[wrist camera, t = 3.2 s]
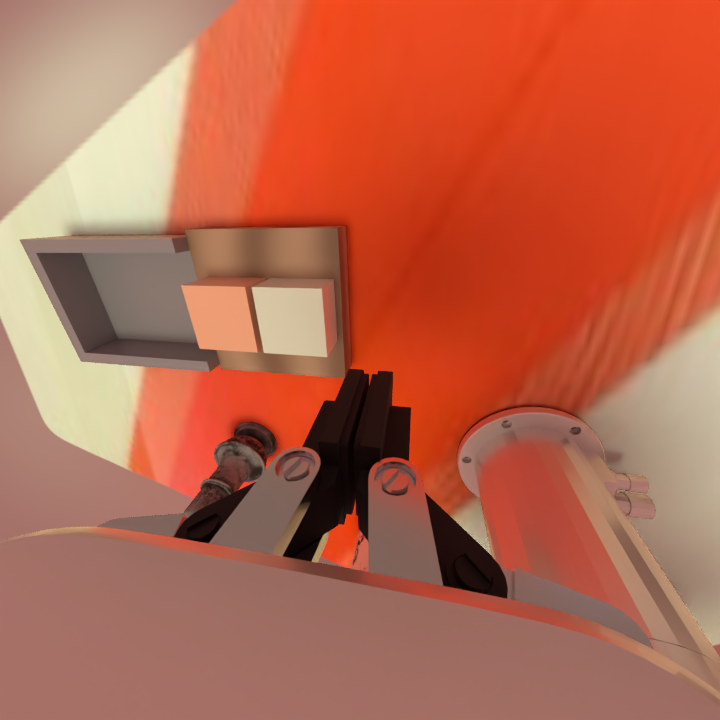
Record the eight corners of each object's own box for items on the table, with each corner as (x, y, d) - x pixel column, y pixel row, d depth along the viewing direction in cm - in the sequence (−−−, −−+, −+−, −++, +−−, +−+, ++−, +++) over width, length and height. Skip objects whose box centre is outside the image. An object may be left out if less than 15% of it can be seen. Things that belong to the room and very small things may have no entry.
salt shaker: (224, 421, 35) (138, 514, 24) (269, 418, 33) (197, 516, 23) (243, 459, 37) (172, 558, 26) (285, 458, 35) (227, 563, 25)
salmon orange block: (265, 278, 23) (244, 286, 20) (274, 337, 25) (257, 352, 23) (207, 276, 24) (181, 285, 21) (222, 334, 26) (199, 348, 23)
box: (206, 234, 25) (171, 238, 21) (234, 352, 30) (209, 371, 26) (71, 235, 27) (19, 239, 24) (118, 344, 32) (81, 361, 29)
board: (345, 225, 22) (337, 227, 20) (351, 365, 28) (345, 378, 26) (205, 227, 25) (184, 229, 22) (235, 357, 30) (221, 368, 28)
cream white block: (333, 279, 22) (321, 288, 19) (337, 340, 24) (327, 357, 22) (271, 277, 23) (251, 287, 20) (280, 337, 25) (263, 353, 22)
